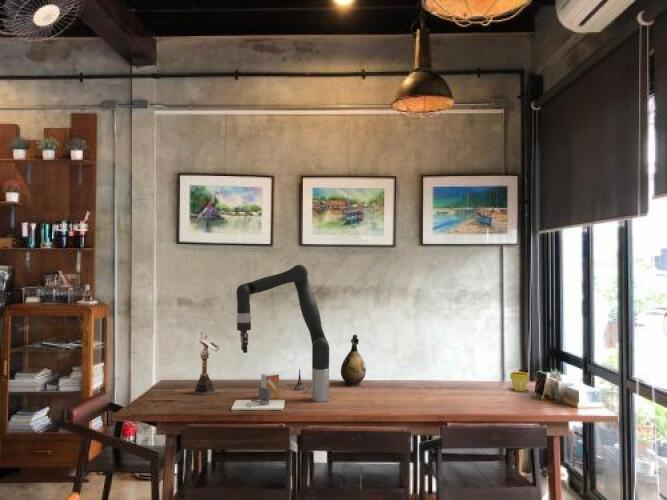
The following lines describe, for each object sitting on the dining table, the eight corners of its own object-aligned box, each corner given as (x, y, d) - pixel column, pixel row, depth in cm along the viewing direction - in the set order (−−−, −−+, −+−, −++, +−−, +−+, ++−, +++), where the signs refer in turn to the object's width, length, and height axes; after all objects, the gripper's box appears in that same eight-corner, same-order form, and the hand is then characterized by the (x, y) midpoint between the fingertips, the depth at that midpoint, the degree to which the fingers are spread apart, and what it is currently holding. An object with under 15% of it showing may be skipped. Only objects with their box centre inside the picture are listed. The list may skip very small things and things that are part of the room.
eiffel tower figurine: (305, 394, 319) (305, 370, 319) (288, 393, 320) (288, 370, 321) (311, 387, 333) (311, 365, 334) (295, 387, 335) (295, 364, 335)
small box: (265, 399, 304) (266, 375, 304) (260, 397, 309) (260, 373, 309) (279, 397, 308) (279, 374, 308) (273, 395, 314) (273, 372, 314)
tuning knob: (272, 403, 290) (272, 387, 290) (265, 405, 286) (265, 389, 286) (255, 399, 297) (255, 384, 297) (248, 401, 292) (248, 386, 293)
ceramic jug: (366, 387, 333) (366, 337, 333) (340, 387, 333) (340, 337, 334) (365, 380, 350) (365, 333, 350) (340, 380, 350) (340, 333, 351)
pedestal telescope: (225, 389, 327) (225, 329, 327) (222, 395, 314) (222, 332, 314) (196, 389, 326) (196, 329, 326) (192, 395, 313) (192, 332, 313)
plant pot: (526, 388, 332) (526, 371, 332) (530, 392, 322) (530, 375, 322) (508, 387, 333) (508, 371, 333) (512, 391, 323) (512, 374, 323)
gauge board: (284, 402, 298) (284, 399, 298) (282, 411, 282) (282, 408, 282) (236, 402, 297) (236, 399, 297) (231, 411, 281) (231, 408, 281)
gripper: (252, 322, 295) (252, 353, 294) (249, 319, 308) (249, 348, 308) (238, 323, 293) (238, 354, 293) (235, 320, 306) (236, 349, 306)
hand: (244, 351), depth 300 cm, fingers open, 8 cm apart
